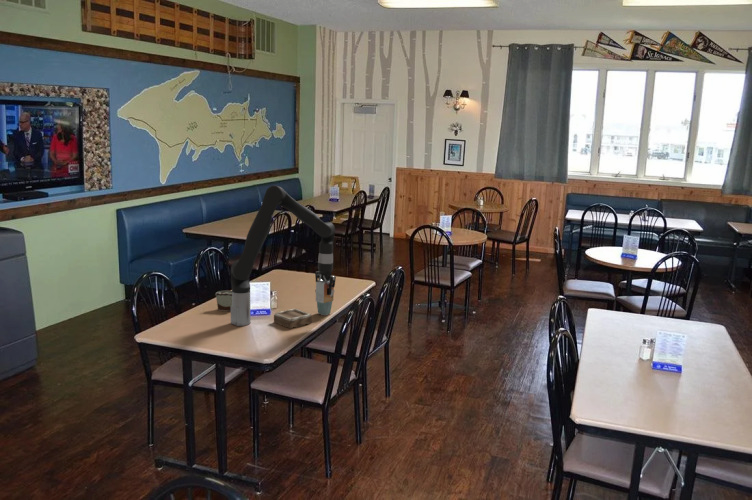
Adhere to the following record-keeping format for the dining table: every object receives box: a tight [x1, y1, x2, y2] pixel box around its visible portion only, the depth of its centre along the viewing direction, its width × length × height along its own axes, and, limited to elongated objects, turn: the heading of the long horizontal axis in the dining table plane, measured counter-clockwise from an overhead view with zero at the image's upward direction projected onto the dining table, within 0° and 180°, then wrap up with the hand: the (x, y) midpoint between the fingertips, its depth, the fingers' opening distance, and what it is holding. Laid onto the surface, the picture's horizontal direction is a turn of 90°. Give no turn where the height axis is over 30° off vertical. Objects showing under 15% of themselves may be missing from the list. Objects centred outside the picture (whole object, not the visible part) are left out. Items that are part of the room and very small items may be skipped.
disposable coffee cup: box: [315, 289, 335, 316], centre depth 354 cm, size 11×11×15 cm
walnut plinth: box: [273, 308, 313, 329], centre depth 338 cm, size 14×14×5 cm
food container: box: [214, 290, 232, 312], centre depth 358 cm, size 12×6×10 cm, turn 84°
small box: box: [315, 281, 335, 303], centre depth 332 cm, size 8×6×10 cm
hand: (324, 293), depth 332 cm, fingers closed on small box, 6 cm apart
